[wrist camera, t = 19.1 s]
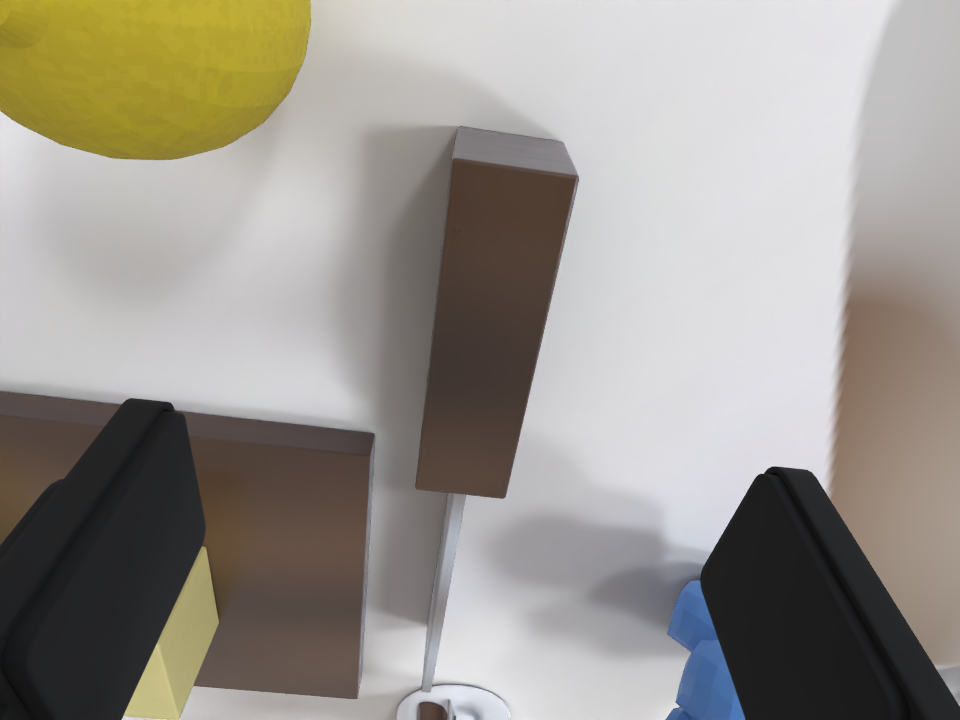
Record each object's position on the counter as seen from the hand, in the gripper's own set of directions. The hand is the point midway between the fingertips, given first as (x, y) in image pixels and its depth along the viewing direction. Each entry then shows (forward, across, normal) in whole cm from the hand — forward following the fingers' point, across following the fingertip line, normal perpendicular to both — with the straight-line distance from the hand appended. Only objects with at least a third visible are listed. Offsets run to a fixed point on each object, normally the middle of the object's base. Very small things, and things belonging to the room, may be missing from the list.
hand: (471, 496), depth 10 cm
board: (+9, +13, +15) cm, 21 cm away
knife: (+9, 0, +7) cm, 11 cm away
